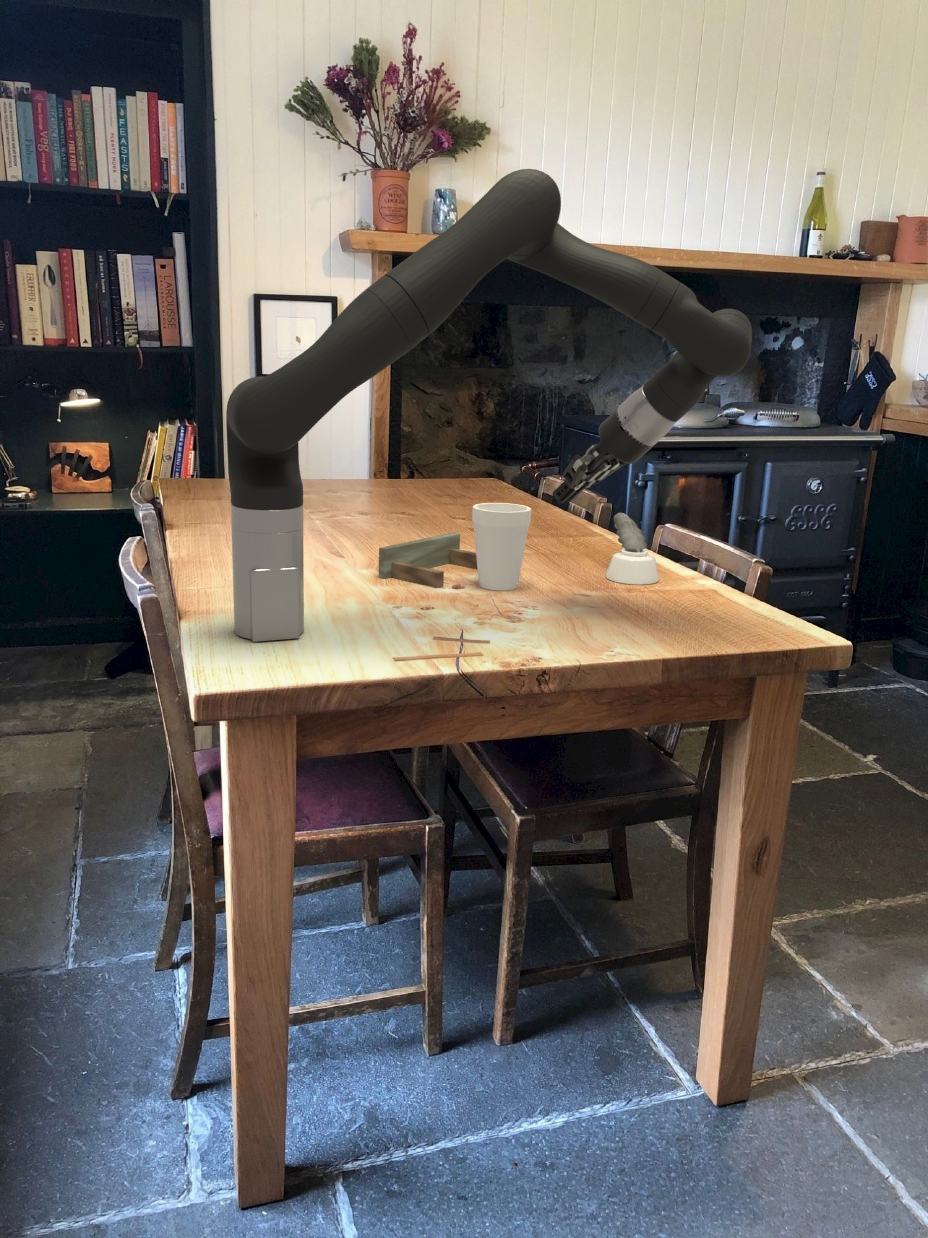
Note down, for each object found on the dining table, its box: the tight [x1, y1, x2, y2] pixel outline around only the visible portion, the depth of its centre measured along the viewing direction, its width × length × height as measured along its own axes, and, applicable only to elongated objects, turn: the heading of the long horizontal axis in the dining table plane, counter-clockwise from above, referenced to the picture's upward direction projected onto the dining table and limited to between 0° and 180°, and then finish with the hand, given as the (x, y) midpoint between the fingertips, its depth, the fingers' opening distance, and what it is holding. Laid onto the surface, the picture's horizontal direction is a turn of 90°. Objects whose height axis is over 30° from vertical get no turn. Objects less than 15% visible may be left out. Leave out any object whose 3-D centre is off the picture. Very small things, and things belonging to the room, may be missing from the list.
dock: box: [378, 532, 478, 589], centre depth 168 cm, size 12×20×5 cm, turn 142°
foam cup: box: [471, 502, 532, 591], centre depth 160 cm, size 10×9×13 cm
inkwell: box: [605, 512, 660, 586], centre depth 173 cm, size 9×18×10 cm, turn 11°
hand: (560, 498), depth 151 cm, fingers closed
